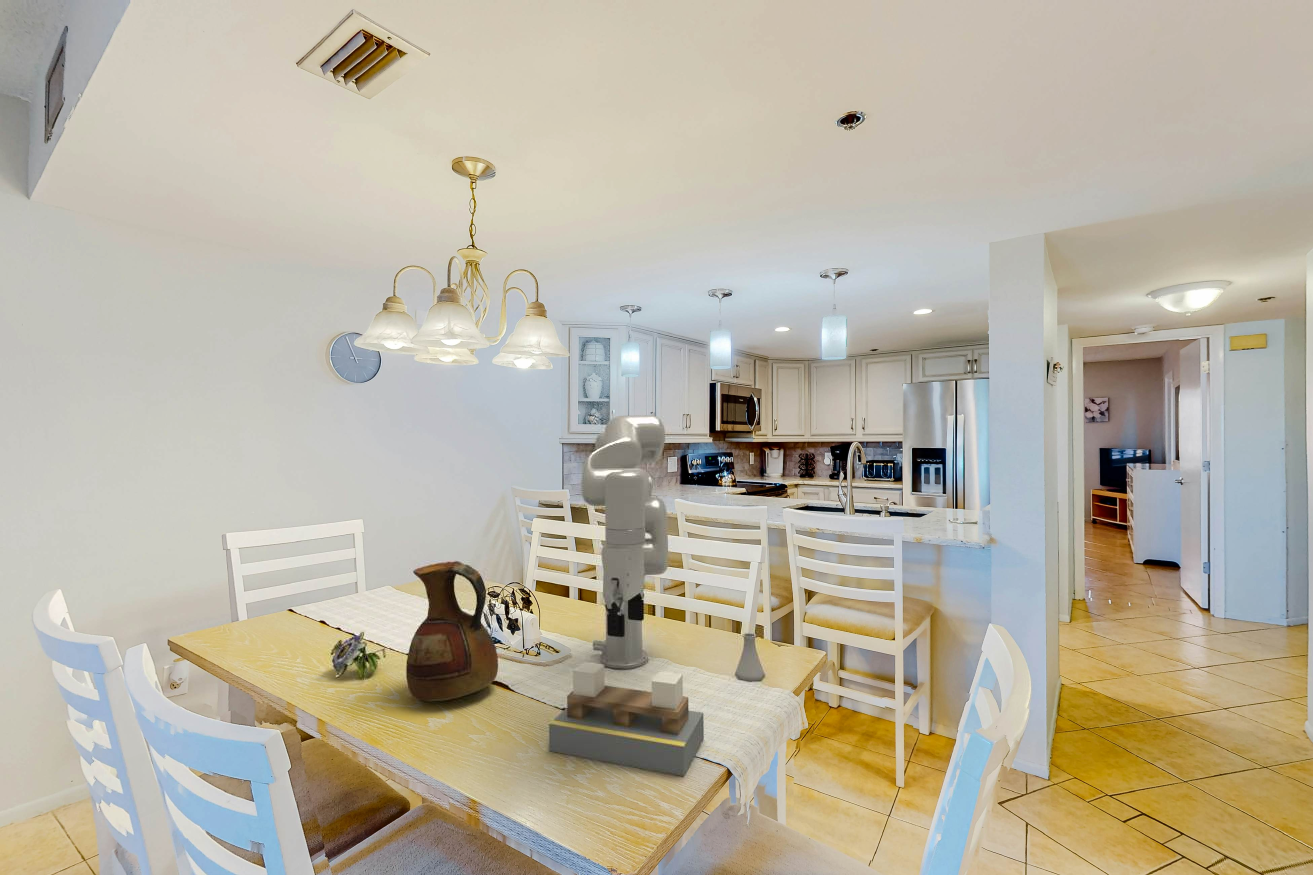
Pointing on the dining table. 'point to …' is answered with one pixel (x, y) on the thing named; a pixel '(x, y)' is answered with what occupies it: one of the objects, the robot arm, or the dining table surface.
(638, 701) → the pallet
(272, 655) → the dining table surface
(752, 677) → the flask
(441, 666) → the ceramic pitcher
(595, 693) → the block
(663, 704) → the block
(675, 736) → the block
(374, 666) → the passion flower
